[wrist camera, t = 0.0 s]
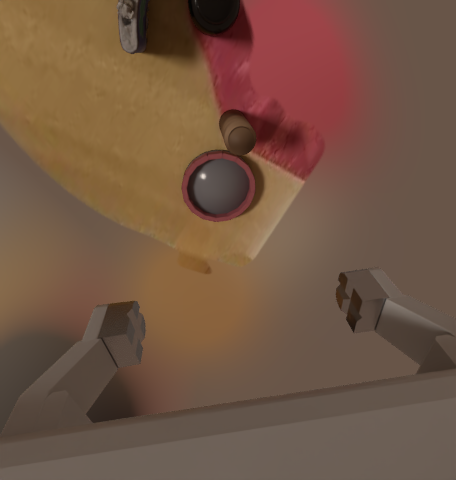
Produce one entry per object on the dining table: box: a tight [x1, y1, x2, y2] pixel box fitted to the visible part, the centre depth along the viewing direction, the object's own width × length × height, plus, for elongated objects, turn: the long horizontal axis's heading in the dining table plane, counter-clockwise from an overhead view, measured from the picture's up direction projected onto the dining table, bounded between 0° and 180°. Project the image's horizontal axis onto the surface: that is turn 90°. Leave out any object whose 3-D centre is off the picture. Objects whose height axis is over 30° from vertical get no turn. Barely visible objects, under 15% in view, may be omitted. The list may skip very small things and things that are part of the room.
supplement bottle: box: [188, 0, 240, 36], centre depth 39 cm, size 7×7×12 cm
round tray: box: [182, 150, 255, 222], centre depth 59 cm, size 15×15×2 cm
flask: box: [117, 0, 150, 54], centre depth 39 cm, size 9×3×11 cm, turn 166°
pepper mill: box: [219, 109, 256, 155], centre depth 48 cm, size 5×5×12 cm
